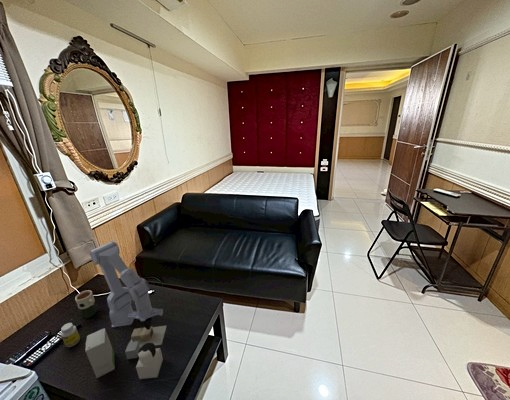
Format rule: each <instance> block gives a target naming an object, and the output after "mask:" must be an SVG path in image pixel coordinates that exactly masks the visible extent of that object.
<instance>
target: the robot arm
mask: <svg viewBox="0 0 510 400" xmlns="http://www.w3.org/2000/svg"><path fill="white" fill-rule="evenodd" d="M89 257H90V258H91V261H92V262H93V264H94V265H95V266H96V265H99V267H100V269H101V271H102V273H103V277H104V279H105V280H106V284H107V285H108V288H109V290H110V293H109V295H108V296H107V298H106V302H107V306H108V309H109V319H110V323H111V328H117V327H123V326H130V325H133V322H134V320H135V319H136V320H138V323H139V324H141V325H142V326H143V328H144V327H145V328H146V329H147V330H149V329H150V328H151V326H152V319H153V317H156V316H161V317H162V316H163V314H164V310H163V308H155V307H152V305H151V299H150V294H149V291H150V289H151V286H150V284H149V282H148V281H147V280H146V279H145V278H143V277H140V276H139V275H138V273H137V272H136V271H135V270H134V269H133V268H129V267H128V266H127V264H126V263H125V262H124V260H123V258H122V257H121V256H120V246H119V245H118V243H117V242H115V241H114V240H112V241H110V242H107V243H105V244H103V245H100V246H98V247H96V248H94V249H91V250H90V252H89ZM117 272H118V273H117ZM118 274H120V275H119V276H118ZM120 280H121V281H120ZM121 282H123V284H124V285H125V286H123V285H122V283H121ZM132 301H134V304H135V308H136V311H134V310H133V307H132V306H133V305H132V303H133V302H132Z"/></svg>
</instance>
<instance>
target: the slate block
mask: <svg viewBox="0 0 510 400" xmlns="http://www.w3.org/2000/svg"><path fill="white" fill-rule="evenodd" d="M139 349H140V345H139V342H131V343H130V342H128V343H127V346H126V349H125V350H124V351H125V352H124V353H125V356H126V359H127V360H131V359H137V358H139V356H138V351H139Z"/></svg>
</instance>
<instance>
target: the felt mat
mask: <svg viewBox="0 0 510 400" xmlns="http://www.w3.org/2000/svg"><path fill="white" fill-rule="evenodd" d="M152 328H153V335H152V339H151V340H149V341H142V342H139V345H140V348H141V347H142V346H143V345H144V344H146V343H153V344H154V345H155V346H161V345H163V340H164V337H165V333H166V330H167V325H160V326H152ZM131 342H132V338H131V339H130V341H129V343H131Z"/></svg>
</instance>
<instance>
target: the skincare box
mask: <svg viewBox="0 0 510 400" xmlns="http://www.w3.org/2000/svg"><path fill="white" fill-rule="evenodd" d="M85 353H86V356H87V359H88V360H89V363H90V365H91V367H92V371H93V373H94V375H95V378H96V379H98V378H100V377H102V376H105V375H106V374H108V373H110V372H112V371H113V370H115V367H116V366H115V352H114V349H113V346H112V344H111V341H110V339H109V335H108V333H107V330H106V328H104V327H103V328H101V329H98V330H97V331H95V332H92V333H90V334H88V335H87V336H86V341H85Z"/></svg>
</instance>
